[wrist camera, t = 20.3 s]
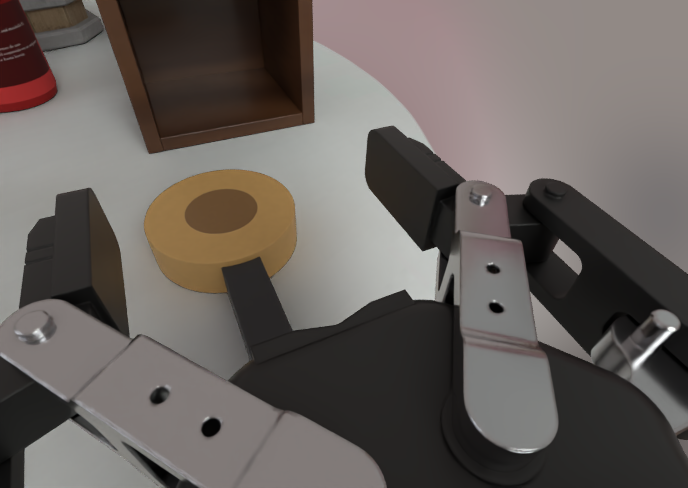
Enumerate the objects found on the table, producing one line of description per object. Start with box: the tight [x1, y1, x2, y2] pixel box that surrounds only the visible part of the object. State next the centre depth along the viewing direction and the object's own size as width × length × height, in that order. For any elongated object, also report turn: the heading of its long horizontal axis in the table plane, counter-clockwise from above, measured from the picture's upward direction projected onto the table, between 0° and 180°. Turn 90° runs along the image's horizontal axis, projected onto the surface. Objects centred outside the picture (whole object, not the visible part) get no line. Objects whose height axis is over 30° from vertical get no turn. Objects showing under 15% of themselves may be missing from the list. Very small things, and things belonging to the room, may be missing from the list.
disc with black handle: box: [144, 170, 297, 361], centre depth 22 cm, size 20×9×3 cm, turn 25°
